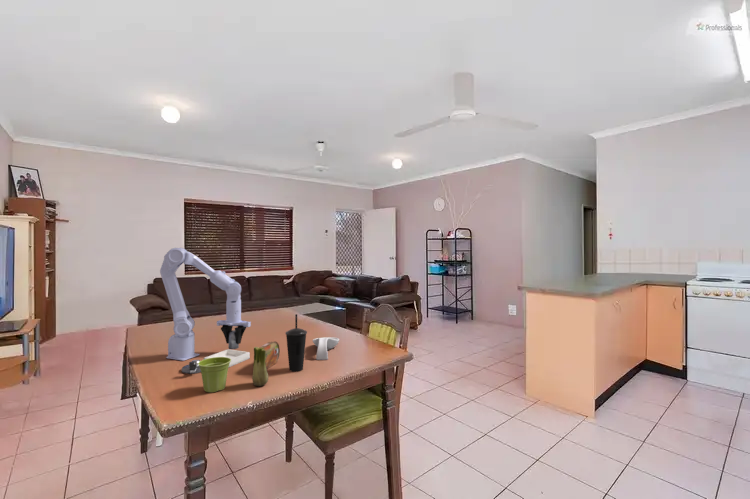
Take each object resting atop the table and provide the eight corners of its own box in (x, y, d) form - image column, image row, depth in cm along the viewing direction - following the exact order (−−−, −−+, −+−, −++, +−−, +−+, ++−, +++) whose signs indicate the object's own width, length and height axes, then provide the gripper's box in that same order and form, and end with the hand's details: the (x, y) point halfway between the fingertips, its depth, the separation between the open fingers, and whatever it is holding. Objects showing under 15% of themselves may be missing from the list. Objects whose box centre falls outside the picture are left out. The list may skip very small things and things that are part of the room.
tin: (260, 374, 123) (260, 350, 123) (252, 373, 123) (252, 349, 123) (280, 360, 138) (280, 339, 138) (273, 359, 138) (273, 338, 138)
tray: (203, 364, 132) (203, 358, 132) (227, 355, 144) (227, 349, 144) (226, 368, 128) (226, 361, 128) (249, 358, 140) (249, 352, 140)
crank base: (175, 371, 124) (175, 368, 124) (196, 364, 133) (196, 361, 133) (194, 375, 121) (194, 372, 121) (215, 366, 130) (215, 363, 130)
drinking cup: (310, 367, 130) (310, 313, 129) (299, 374, 122) (299, 317, 122) (292, 365, 132) (292, 312, 132) (281, 371, 125) (281, 315, 125)
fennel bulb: (251, 382, 115) (251, 346, 115) (267, 380, 117) (267, 344, 117) (253, 389, 110) (253, 350, 110) (269, 386, 112) (269, 349, 112)
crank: (192, 364, 128) (192, 355, 128) (200, 364, 129) (200, 354, 129) (187, 373, 119) (187, 363, 119) (196, 372, 120) (196, 362, 120)
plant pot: (205, 383, 114) (205, 356, 114) (235, 382, 115) (234, 356, 115) (192, 395, 105) (192, 366, 105) (225, 394, 105) (225, 365, 105)
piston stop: (226, 348, 146) (226, 331, 146) (233, 346, 150) (233, 329, 150) (233, 349, 145) (233, 332, 145) (240, 347, 149) (240, 330, 149)
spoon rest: (314, 344, 161) (314, 329, 161) (339, 344, 162) (339, 328, 162) (307, 361, 138) (307, 342, 137) (337, 360, 138) (337, 342, 138)
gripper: (212, 312, 145) (212, 344, 145) (244, 313, 142) (244, 346, 142) (222, 309, 152) (222, 340, 152) (253, 310, 149) (253, 342, 149)
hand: (233, 343), depth 147 cm, fingers closed on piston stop, 4 cm apart
